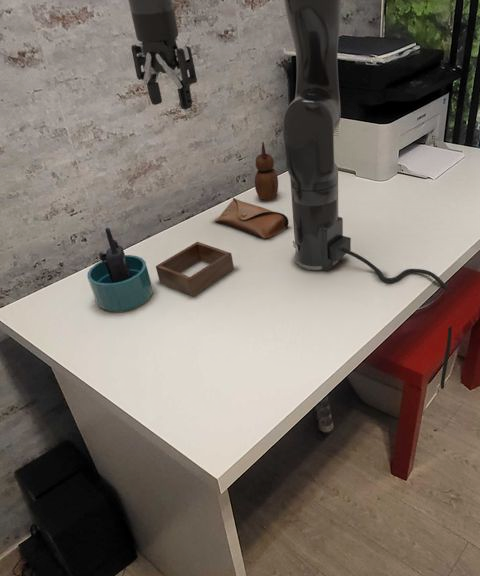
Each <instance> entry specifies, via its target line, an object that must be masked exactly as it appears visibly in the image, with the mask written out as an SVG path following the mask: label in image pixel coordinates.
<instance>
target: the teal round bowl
mask: <svg viewBox="0 0 480 576" xmlns="http://www.w3.org/2000/svg"><path fill="white" fill-rule="evenodd" d="M125 257H126V260H127V263H128V265H129V270H130V272H131V276H132V278H130V279H127V280H125V281H122V282H117V283H114V282H112V281H111V279H110V276H109V273H108V270H107V268H106V266H105V264H104V263H103V261H102V260H100V261H98V262H97V263H94V265H93V266H92V267H90V269H89V270H88V271H87V280H88V283H89V286H90V288H91V291H92V294H93V296H94V297H93V298H94V299H95V302H96V304H97V305H98V307H99V308H101V309H103V310H106V311H109V312H115V313H117V312H118V313H119V312H120V313H121V312H127V311H130V310H133V309H136V308H138V307H140V306H142V305H144V304H145V303H146V302H148V301H149V299H150V298H151V297H152V295H153V293H154V288H153V284H152V280H151V276H150V273H149V269H148V266H147V262H146V261H145V259H144V258H143V257H140V256H138V255H132V254H125Z"/></svg>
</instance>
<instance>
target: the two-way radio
mask: <svg viewBox="0 0 480 576" xmlns="http://www.w3.org/2000/svg"><path fill="white" fill-rule="evenodd" d="M105 233H106V238H107V241H108V245H109V248H108V249H107V250H106V252H105V253H104V252H99V253H98V256H99V260H100V261H103V263H104V264H105V266H106V268H107V270H108V273H109V276H110V279H111V281H112V282H114V283H117V282H122V281H125V280H127V279H130V278H132V276H131V272H130V270H129V265H128V263H127V260H126V257H125V255H126V254H125V251H124V247H123V246H122V245H119V243H118V241H117V240H116V239H114V237H113V235H112V232H111V229H110V228H109V227H105Z"/></svg>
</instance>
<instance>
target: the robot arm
mask: <svg viewBox="0 0 480 576" xmlns="http://www.w3.org/2000/svg"><path fill="white" fill-rule="evenodd" d="M283 2H284V9H285V10H284V11H285V14H286V19H287V24H288V27H289V31H290V34H291V38H292V41H293V46H294V50H295V58H296V59H295V60H296V82H295V83H296V84H295V95H294V99H293V100H292V101H291V102H290V103H289V105H288V106H287V108H286V109H285V111H284V114H283V117H282V139H283V149H284V158H285V159H284V160H285V166H286V170H287V173H288V176H289V179H290V193H291V195H290V196H291V207H292V208H291V210H292V220H293V221H292V224H293V237H294V240H292V243H293V248H294V249H295V250H294V251H295V256H294V257H295V259H294V260H295V263H296V264H297V266H298V267H300V268H301V269H304V270H309V271H325V272H329V270H331V269H332V268H333V267H335V266H336V265H337V264H338V263H340V262H341V261H342V260H343V259H344V256H346V255H349V256H352V258H353V257H354V258H355V259H357V260H359V261H360V262H362V263H364V264H365V265H366V266H368V267H369V268H370V269H372V270H373V271H374V272H376V273H377V275H378V277H379V278H380V280H382V281H383V282H385V283H394V282H397V281H399V280H400V279H402V278H403V277H404V276H405V275H407V274H413V273H414V274H423V275H427V276H429V277H431V278H432V279H434V280H435V281H436V282H437V283H438V284H439V286H440V287H441V288H442V289H443V290H445V291H446V290H448V286H447V285H446V284H445V282H444V281H443V279H442V278H440V277H439V276H438V275H436V273H434V272H432V271H430V270H427V269H423V268H422V269H421V268H407V269H405V270H402V272H400V273H399V274H397V275H396V276H394V277H386V276H385V275H384V274H383V273H382V271H381V270H380V269H379V268H378V267H377V266H376V265H374V264H373V263H372V262H370V261H369V260H368V259H366V258H365V257H363V256H361V255H359V254H357V253H356V252H354V251H351V249H352V248H351V245H352V243H351V237H349V236H346V235H344V219H343V217H341V216H339V168H338V165H337V164H336V163H335V142H334V141H335V139H334V137H335V133H336V131H337V129H338V127H339V126H340V122H341V117H342V114H341V113H342V107H341V96H340V85H339V83H340V82H339V68H338V67H339V66H338V52H339V51H338V50H339V41H340V40H339V39H340V28H341V27H340V25H341V8H342V0H283ZM128 5H129V10H130V14H131V19H132V23H133V28H134V33H135V37H136V40H137V41H138V42H139V43H136V44H133V45H131V48H130V49H131V53H132V60H133V65H134V70H135V74H136V78H137V79H138V80H139V81H140V80H142V81H143V83H144V84H145V85H146V89H147V92H148V97H149V100H150V103H151V105H154V106H157V105H160V104H162V102H163V99H162V94H161V90H160V84H159V82H158V77H159V74H160V73H162V74H166V75H167V76H168V78H169V79H171V80H173V82H174V84H175V85H176V87H177V94H178V100H179V105H180V109H181V110H184V111H185V110H188V109H191V108H192V106H193V99H192V93H191V86H192V85H193V84H196V83H198V77H197V73H196V68H195V63H194V58H193V54H192V49H191V46H183V47H179V46H178V43H177V38H178V36H179V30H178V23H177V18H176V11H175V7H174V2H173V0H128ZM142 68H143V71H142ZM188 74H189V75H188ZM452 335H453V325H450V326H449V327H448V328H447V339H446V346H445V354H444V359H443V366H442V371H441V377H440V378H441V379H440V390H441V389H442V390H444V389H445V382H446V376H447V369H448V364H449V358H450V352H451V345H452Z"/></svg>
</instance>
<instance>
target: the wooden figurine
mask: <svg viewBox="0 0 480 576" xmlns="http://www.w3.org/2000/svg"><path fill="white" fill-rule="evenodd" d="M265 147H266V146H265V142H264V141H261V154H258V155H257V156H256V157H255V167H256V170H257V171H256V173H255V175H254V189H255V192H256V195H257V196H258V198H259V199H260V200H262V201H271V200H273V199H275V198H276V197H277V195H278V191H279V177H278V174H277V173H278V172H277V170H275V168H274V167H275V163H274V162H275V161H274V158H273V156H272V154H269V153H266V148H265Z"/></svg>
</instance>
